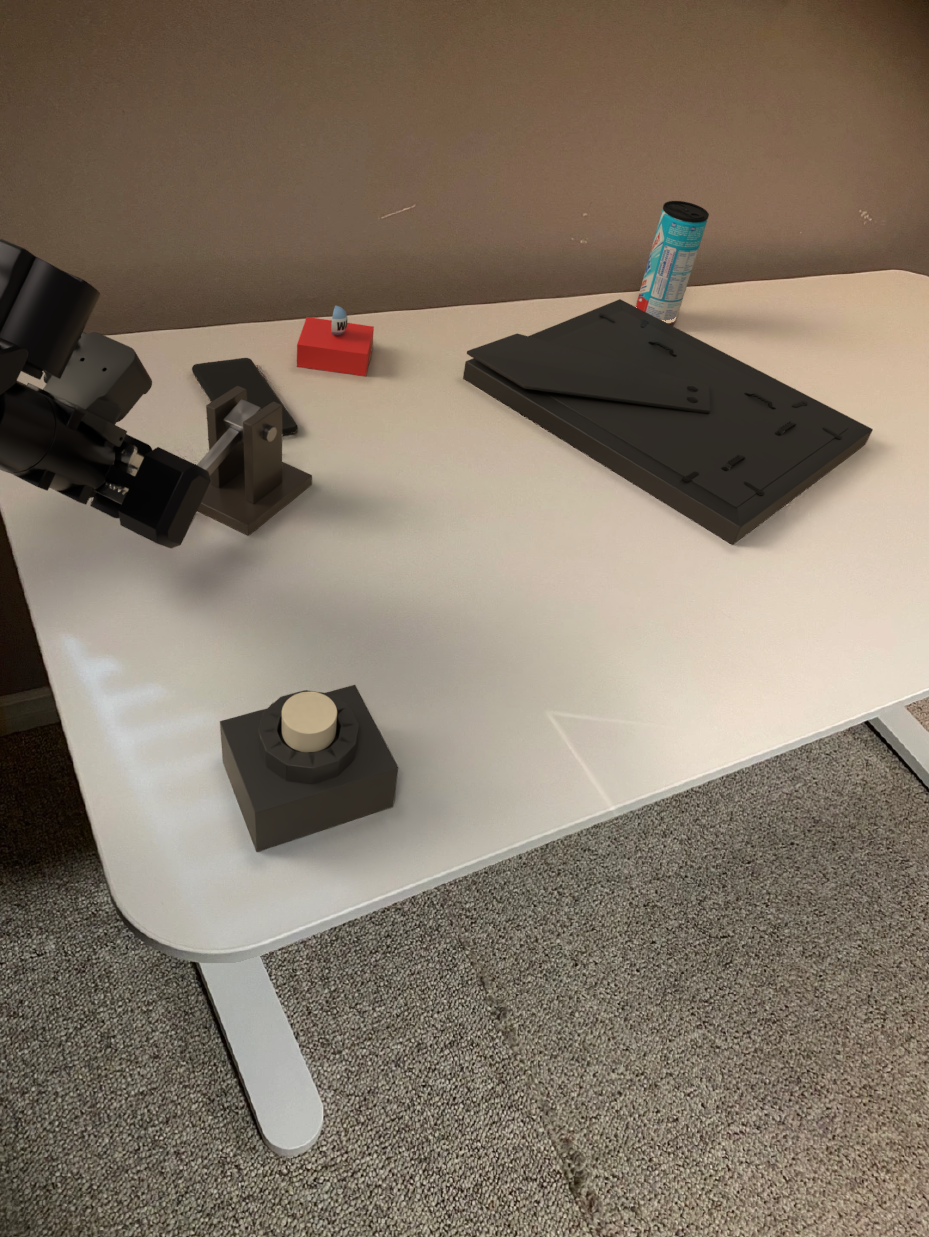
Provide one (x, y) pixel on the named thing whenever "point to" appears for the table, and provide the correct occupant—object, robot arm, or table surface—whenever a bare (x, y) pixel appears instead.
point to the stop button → (309, 721)
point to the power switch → (229, 435)
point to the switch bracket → (250, 468)
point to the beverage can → (671, 259)
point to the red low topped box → (335, 344)
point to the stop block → (307, 772)
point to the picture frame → (669, 414)
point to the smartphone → (240, 385)
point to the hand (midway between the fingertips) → (151, 488)
